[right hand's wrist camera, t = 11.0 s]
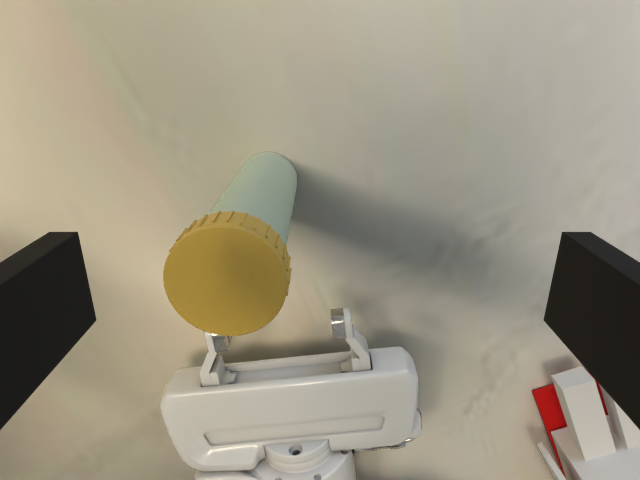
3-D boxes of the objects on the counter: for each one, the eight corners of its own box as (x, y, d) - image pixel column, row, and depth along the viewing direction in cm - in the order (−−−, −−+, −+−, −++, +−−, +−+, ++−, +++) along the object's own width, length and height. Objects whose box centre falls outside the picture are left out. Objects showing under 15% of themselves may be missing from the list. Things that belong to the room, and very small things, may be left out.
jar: (270, 139, 35) (226, 209, 19) (309, 183, 36) (300, 283, 20) (228, 177, 36) (153, 274, 20) (267, 218, 37) (227, 341, 21)
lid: (233, 185, 20) (224, 198, 18) (315, 269, 21) (314, 289, 19) (151, 259, 21) (134, 278, 19) (233, 333, 23) (226, 358, 21)
